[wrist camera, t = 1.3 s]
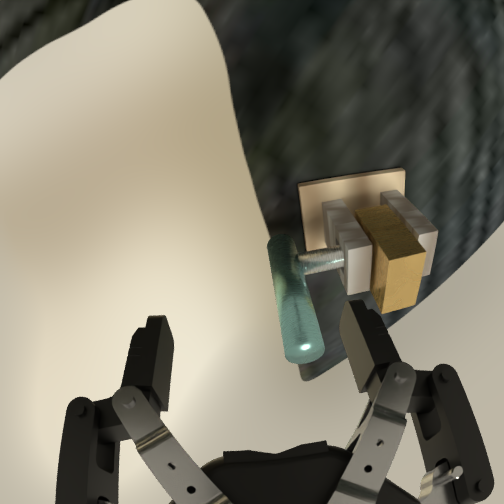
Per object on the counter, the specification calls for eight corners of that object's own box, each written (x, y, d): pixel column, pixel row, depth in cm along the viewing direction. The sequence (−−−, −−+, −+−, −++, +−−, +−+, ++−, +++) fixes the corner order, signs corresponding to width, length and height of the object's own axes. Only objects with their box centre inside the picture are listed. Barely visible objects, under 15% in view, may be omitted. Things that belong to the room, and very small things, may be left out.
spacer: (354, 259, 35) (381, 314, 28) (354, 209, 31) (389, 260, 24) (383, 253, 35) (414, 304, 27) (386, 204, 31) (426, 251, 23)
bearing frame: (306, 256, 41) (325, 315, 32) (297, 183, 34) (321, 232, 25) (397, 238, 40) (433, 287, 31) (401, 167, 33) (449, 207, 25)
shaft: (269, 259, 36) (287, 366, 23) (264, 237, 34) (282, 345, 22) (403, 232, 34) (464, 317, 22) (404, 210, 33) (473, 293, 20)
